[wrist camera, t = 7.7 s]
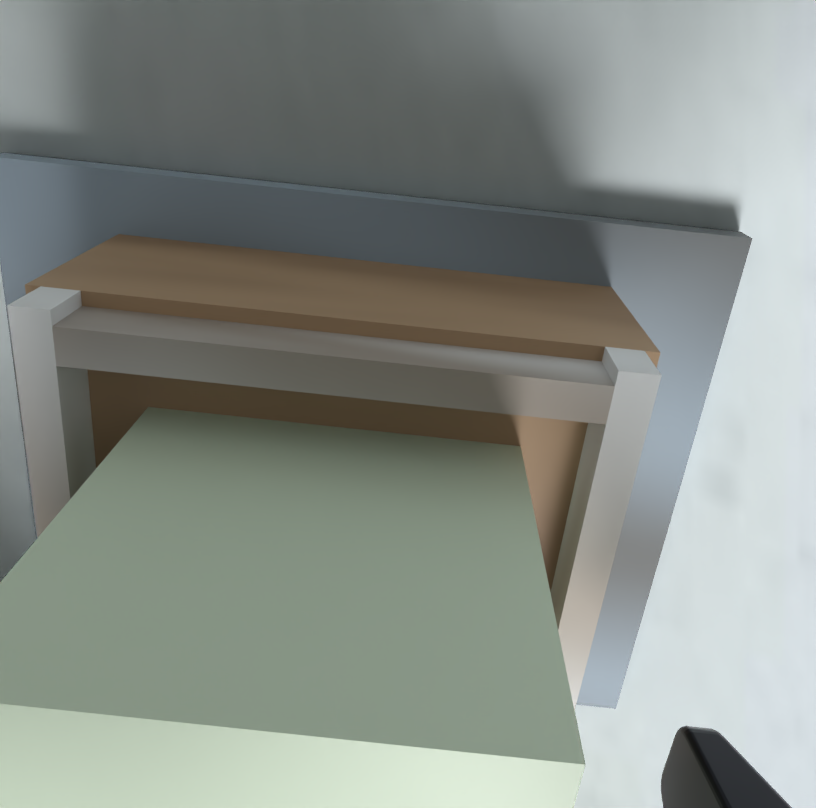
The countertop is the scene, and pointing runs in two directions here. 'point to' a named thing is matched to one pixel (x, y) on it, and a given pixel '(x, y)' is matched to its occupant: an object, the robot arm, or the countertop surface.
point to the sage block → (287, 628)
